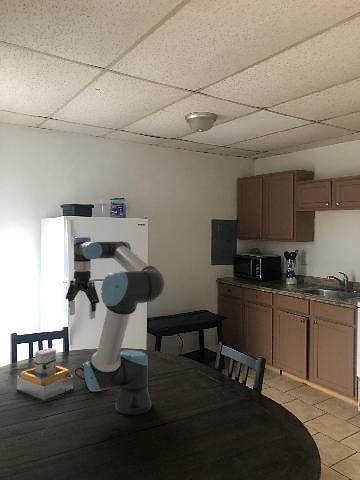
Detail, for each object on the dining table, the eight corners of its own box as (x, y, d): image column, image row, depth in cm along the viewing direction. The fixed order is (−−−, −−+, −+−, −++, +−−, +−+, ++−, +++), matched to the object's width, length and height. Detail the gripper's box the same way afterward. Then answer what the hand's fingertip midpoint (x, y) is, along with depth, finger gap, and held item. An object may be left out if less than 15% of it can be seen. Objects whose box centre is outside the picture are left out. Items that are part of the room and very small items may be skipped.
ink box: (41, 379, 180) (41, 353, 179) (34, 377, 182) (34, 351, 182) (56, 374, 187) (56, 349, 186) (49, 372, 189) (50, 347, 189)
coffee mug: (103, 381, 195) (103, 361, 195) (97, 388, 186) (98, 367, 186) (80, 380, 196) (80, 360, 196) (73, 387, 187) (74, 366, 187)
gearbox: (73, 388, 186) (73, 370, 186) (43, 400, 173) (43, 380, 172) (41, 377, 199) (41, 360, 199) (12, 387, 186) (12, 369, 186)
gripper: (107, 271, 177) (107, 318, 178) (70, 268, 191) (70, 312, 192) (95, 272, 171) (94, 321, 171) (58, 269, 185) (57, 314, 186)
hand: (82, 316), depth 182 cm, fingers open, 13 cm apart
